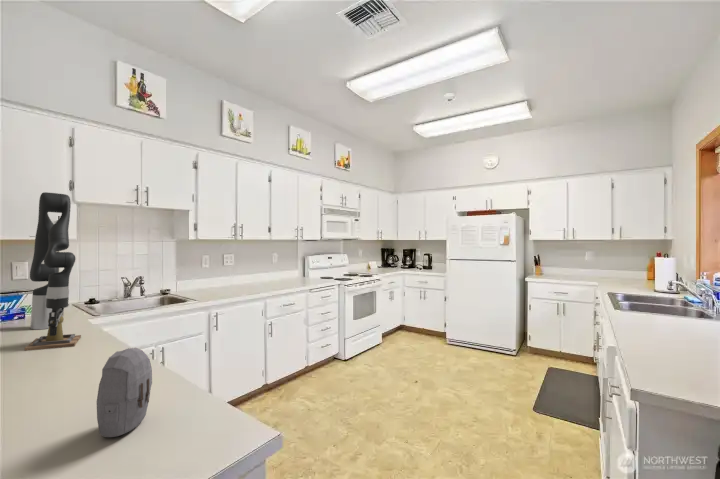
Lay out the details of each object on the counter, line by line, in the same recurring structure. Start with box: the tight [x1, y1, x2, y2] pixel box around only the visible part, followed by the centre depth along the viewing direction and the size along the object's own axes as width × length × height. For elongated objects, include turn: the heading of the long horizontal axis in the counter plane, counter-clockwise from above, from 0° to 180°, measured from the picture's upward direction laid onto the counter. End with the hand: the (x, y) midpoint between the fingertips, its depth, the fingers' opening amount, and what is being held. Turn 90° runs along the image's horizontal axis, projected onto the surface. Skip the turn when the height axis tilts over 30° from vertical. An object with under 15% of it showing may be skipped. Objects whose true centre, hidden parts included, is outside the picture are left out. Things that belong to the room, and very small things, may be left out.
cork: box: [46, 316, 64, 342], centre depth 154 cm, size 6×6×11 cm
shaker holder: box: [24, 333, 82, 352], centre depth 153 cm, size 16×16×2 cm
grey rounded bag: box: [96, 347, 153, 438], centre depth 87 cm, size 15×8×20 cm, turn 4°
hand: (55, 333), depth 154 cm, fingers open, 8 cm apart
